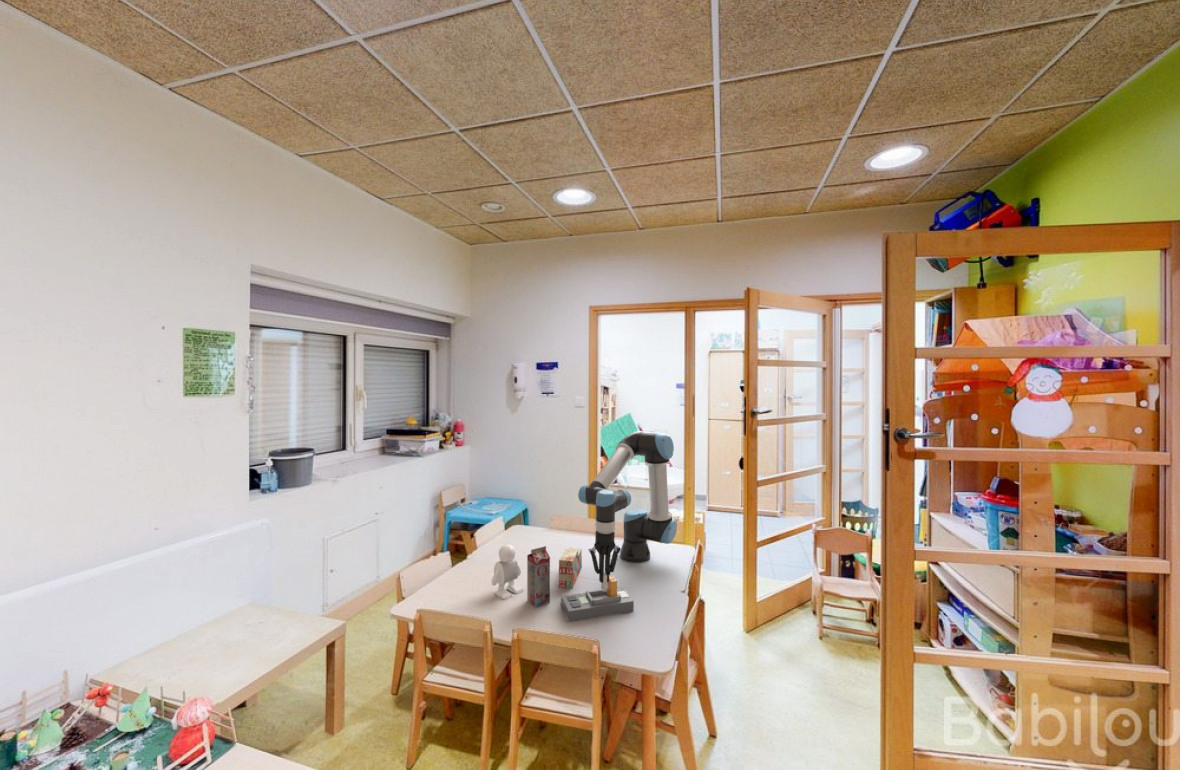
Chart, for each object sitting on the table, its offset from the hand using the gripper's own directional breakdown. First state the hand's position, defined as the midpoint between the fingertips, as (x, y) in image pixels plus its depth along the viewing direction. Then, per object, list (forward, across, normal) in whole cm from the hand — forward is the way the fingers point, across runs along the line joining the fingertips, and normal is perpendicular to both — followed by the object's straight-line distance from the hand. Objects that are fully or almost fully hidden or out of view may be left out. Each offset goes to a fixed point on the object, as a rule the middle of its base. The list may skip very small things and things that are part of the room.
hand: (603, 589), depth 180 cm
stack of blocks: (+8, +6, -30) cm, 31 cm away
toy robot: (+8, +35, -24) cm, 43 cm away
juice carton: (+8, +24, -12) cm, 28 cm away
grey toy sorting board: (+7, +3, 0) cm, 8 cm away
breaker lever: (+3, -3, 0) cm, 4 cm away
